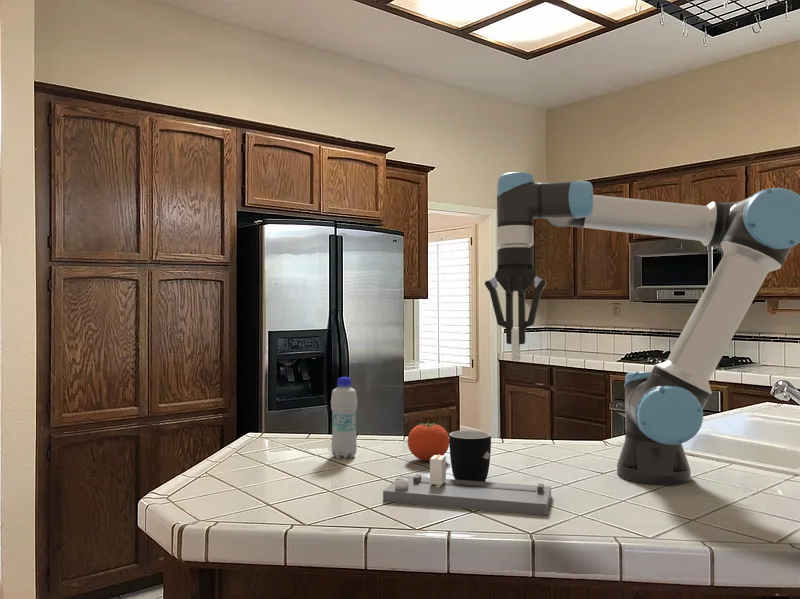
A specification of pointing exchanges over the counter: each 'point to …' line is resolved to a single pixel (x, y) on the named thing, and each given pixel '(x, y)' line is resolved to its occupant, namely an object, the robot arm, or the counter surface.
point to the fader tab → (438, 469)
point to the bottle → (344, 419)
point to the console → (470, 495)
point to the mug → (470, 455)
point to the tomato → (428, 441)
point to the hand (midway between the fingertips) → (515, 359)
